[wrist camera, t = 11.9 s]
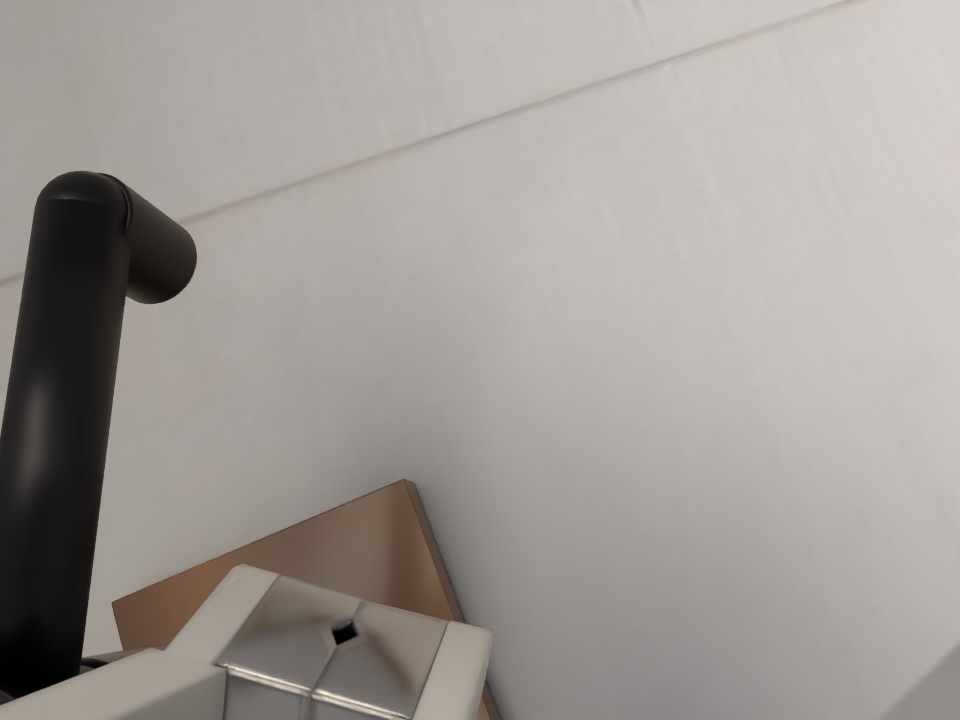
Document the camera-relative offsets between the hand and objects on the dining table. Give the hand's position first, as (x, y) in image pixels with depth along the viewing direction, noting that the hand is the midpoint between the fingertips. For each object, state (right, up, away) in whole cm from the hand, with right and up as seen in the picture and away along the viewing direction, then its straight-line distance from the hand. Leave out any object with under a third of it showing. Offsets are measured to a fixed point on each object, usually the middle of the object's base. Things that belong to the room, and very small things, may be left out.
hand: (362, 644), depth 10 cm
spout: (-7, 0, +11) cm, 13 cm away
